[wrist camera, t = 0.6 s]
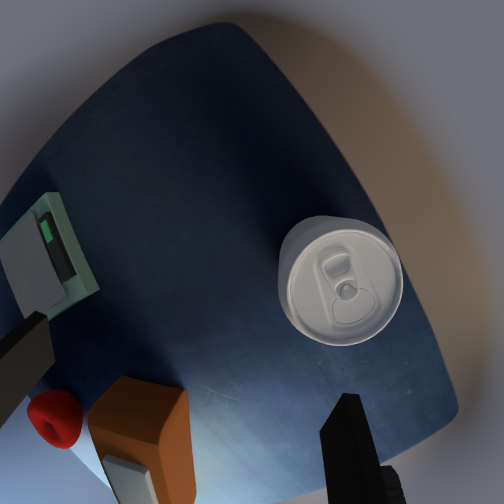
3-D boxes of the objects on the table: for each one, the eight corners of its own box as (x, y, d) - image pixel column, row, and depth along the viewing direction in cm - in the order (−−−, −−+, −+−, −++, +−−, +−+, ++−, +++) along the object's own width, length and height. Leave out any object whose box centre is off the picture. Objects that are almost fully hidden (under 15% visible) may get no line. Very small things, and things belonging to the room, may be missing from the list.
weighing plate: (35, 210, 28) (32, 210, 27) (69, 295, 29) (66, 296, 28) (-1, 248, 30) (-4, 248, 29) (29, 322, 30) (26, 323, 30)
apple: (96, 434, 35) (73, 463, 28) (54, 409, 36) (28, 433, 28) (94, 394, 34) (65, 424, 26) (49, 369, 34) (17, 392, 27)
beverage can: (299, 310, 29) (308, 371, 17) (265, 236, 29) (254, 255, 17) (372, 277, 28) (423, 318, 16) (342, 202, 27) (383, 197, 16)
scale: (59, 192, 30) (39, 191, 27) (100, 288, 31) (81, 297, 28) (9, 241, 32) (-9, 244, 29) (43, 323, 33) (26, 332, 30)
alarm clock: (125, 369, 33) (76, 419, 21) (188, 382, 32) (153, 445, 21) (149, 482, 36) (125, 528, 25) (197, 494, 35) (180, 545, 24)
